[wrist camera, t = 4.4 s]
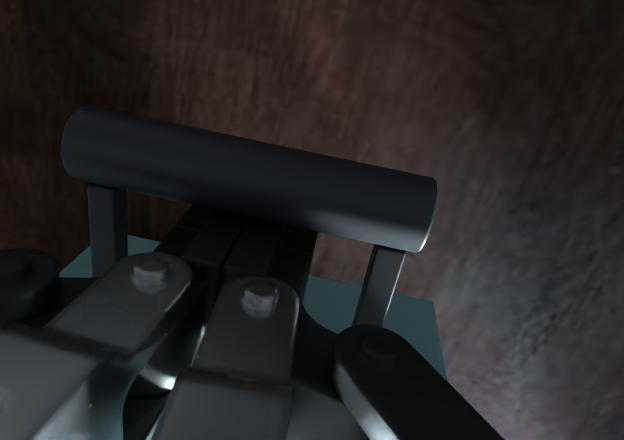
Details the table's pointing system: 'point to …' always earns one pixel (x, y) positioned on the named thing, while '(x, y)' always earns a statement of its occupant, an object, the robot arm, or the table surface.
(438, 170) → the table surface
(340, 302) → the drawer
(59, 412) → the robot arm
